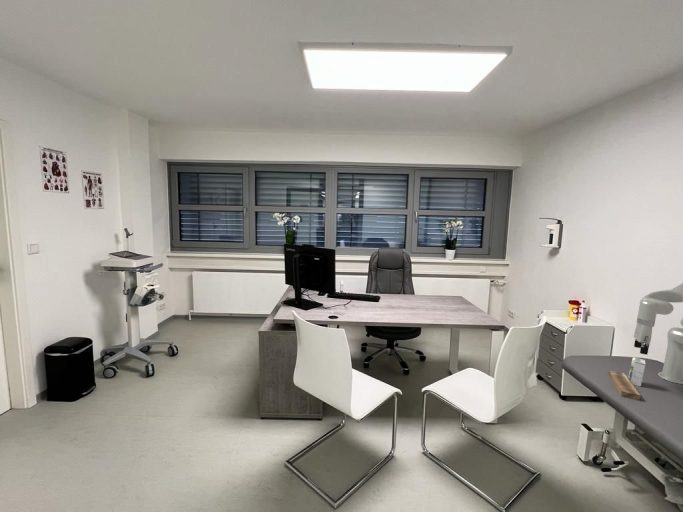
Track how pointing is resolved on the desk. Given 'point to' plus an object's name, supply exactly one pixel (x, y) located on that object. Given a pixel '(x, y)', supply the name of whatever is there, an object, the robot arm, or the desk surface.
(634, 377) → the syrup box
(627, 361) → the desk surface
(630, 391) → the walnut board
